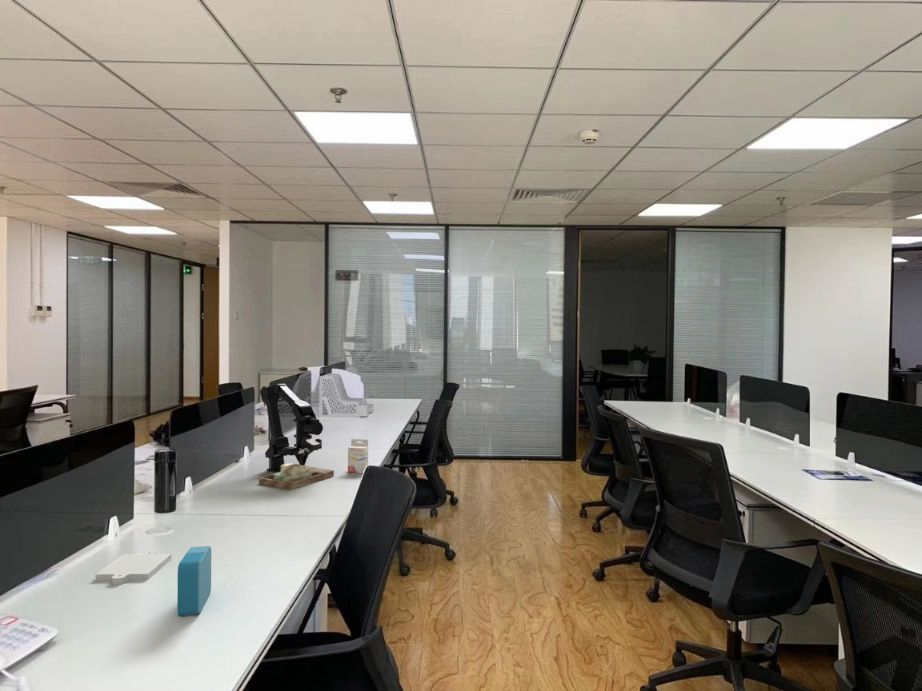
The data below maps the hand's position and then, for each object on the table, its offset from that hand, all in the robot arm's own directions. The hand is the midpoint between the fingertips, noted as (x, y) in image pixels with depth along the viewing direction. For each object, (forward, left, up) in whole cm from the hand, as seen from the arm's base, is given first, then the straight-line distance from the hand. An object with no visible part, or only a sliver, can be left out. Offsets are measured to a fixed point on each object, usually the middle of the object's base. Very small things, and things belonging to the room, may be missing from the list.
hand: (302, 467), depth 248 cm
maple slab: (0, -6, -2) cm, 6 cm away
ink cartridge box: (+15, +20, -4) cm, 25 cm away
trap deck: (+2, -5, -4) cm, 7 cm away
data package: (+63, -100, -4) cm, 119 cm away
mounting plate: (+32, -95, -5) cm, 101 cm away
